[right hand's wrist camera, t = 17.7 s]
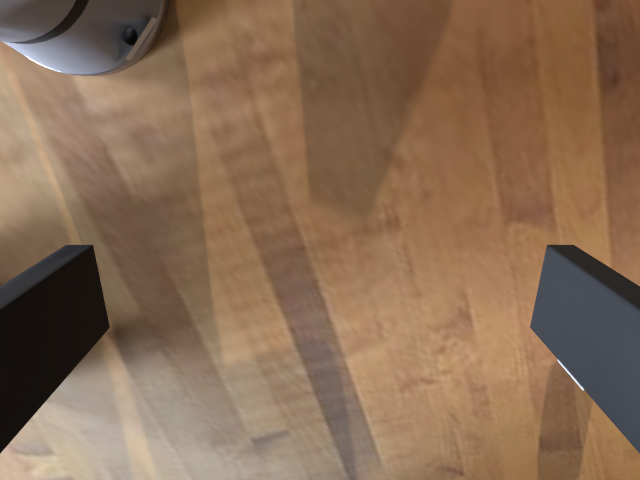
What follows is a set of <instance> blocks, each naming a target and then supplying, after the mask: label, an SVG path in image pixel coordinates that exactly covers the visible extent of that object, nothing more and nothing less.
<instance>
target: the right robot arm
mask: <svg viewBox="0 0 640 480" xmlns="http://www.w3.org/2000/svg"><path fill="white" fill-rule="evenodd" d="M168 7H169V0H0V42H4V43H6V44H7V45H9V46H11V47H12V48H14V49H15V50H17V51H19V52H20V53H22V54H23V55H25V56H26V57H28V58H29V59H31V60H33V61H34V62H36V63H38V64H40V65H42V66H44V67H46V68H49V69H52V70H55V71H58V72H62V73H65V74H72V75H87V76H100V75H108V74H112V73H116V72H119V71H122V70H124V69H126V68H128V67H130V66H132V65H133V64H135V63H136V62H138V61H139V60H140V59H141V58H142V57H143V56H145V55H146V54H147V52H148V51H149V50H150V49H151V48H152V46H153V45H154V43H155V42H156V40H157V39H158V37H159V35H160V33H161V31H162V28H163V26H164V23H165V20H166V16H167V12H168ZM109 328H110V326H109V321H108V316H107V311H106V306H105V301H104V297H103V292H102V287H101V282H100V277H99V272H98V267H97V262H96V258H95V253H94V248H93V245H66V246H64V247H62V248H61V249H59V250H58V251H56V252H54V253H53V254H51V255H50V256H48V257H46V258H45V259H43V260H42V261H40V262H39V263H37V264H35V265H34V266H32V267H31V268H29V269H27V270H26V271H24V272H23V273H21V274H19V275H18V276H16V277H15V278H13V279H12V280H10V281H8V282H7V283H5V284H4V285H2V286H0V453H1V452H2V451H3V450H4V449H5V447H6V446H7V445H8V444H9V443H10V442H11V440H12V439H13V438H14V437H15V436H16V435H17V434H18V432H19V431H20V430H21V429H22V428H23V427H24V426H25V424H26V423H27V422H28V421H29V420H30V419H31V417H32V416H33V415H34V414H35V413H36V412H37V411H38V409H39V408H40V407H41V406H42V405H43V404H44V402H45V401H46V400H47V399H48V398H49V397H50V396H51V394H52V393H53V392H54V391H55V390H56V389H57V388H58V386H59V385H60V384H61V383H62V382H63V381H64V379H65V378H66V377H67V376H68V375H69V374H70V373H71V371H72V370H73V369H74V368H75V367H76V366H77V365H78V363H79V362H80V361H81V360H82V359H83V358H84V356H85V355H86V354H87V353H88V352H89V351H90V350H91V348H92V347H93V346H94V345H95V344H96V343H97V341H98V340H99V339H100V338H101V337H102V336H103V335H104V333H105V332H106V331H107V330H108V329H109ZM530 328H531V329H532V330H533V331H534V332H535V333H536V335H537V336H538V337H539V338H540V339H541V340H542V341H543V343H544V344H545V345H546V346H547V347H548V348H549V350H550V351H551V352H552V353H553V354H554V355H555V356H556V358H557V359H558V360H559V361H560V362H561V363H562V365H563V366H564V367H565V368H566V369H567V370H568V371H569V373H570V374H571V375H572V376H573V377H574V378H575V379H576V381H577V382H578V383H579V384H580V385H581V386H582V388H583V389H584V390H585V391H586V392H587V393H588V394H589V396H590V397H591V398H592V399H593V400H594V401H595V402H596V404H597V405H598V406H599V407H600V408H601V409H602V411H603V412H604V413H605V414H606V415H607V416H608V417H609V419H610V420H611V421H612V422H613V423H614V424H615V426H616V427H617V428H618V429H619V430H620V431H621V432H622V434H623V435H624V436H625V437H626V438H627V439H628V440H629V442H630V443H631V444H632V445H633V446H634V447H635V449H636V450H637V451H638V452H639V453H640V286H638V285H636V284H635V283H633V282H632V281H630V280H628V279H627V278H625V277H624V276H622V275H621V274H619V273H617V272H616V271H614V270H613V269H611V268H609V267H608V266H606V265H605V264H603V263H601V262H600V261H598V260H597V259H595V258H594V257H592V256H590V255H589V254H587V253H586V252H584V251H582V250H581V249H579V248H578V247H576V246H574V245H547V248H546V253H545V258H544V262H543V267H542V272H541V277H540V282H539V287H538V292H537V297H536V301H535V306H534V311H533V316H532V321H531V326H530Z"/></svg>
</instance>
